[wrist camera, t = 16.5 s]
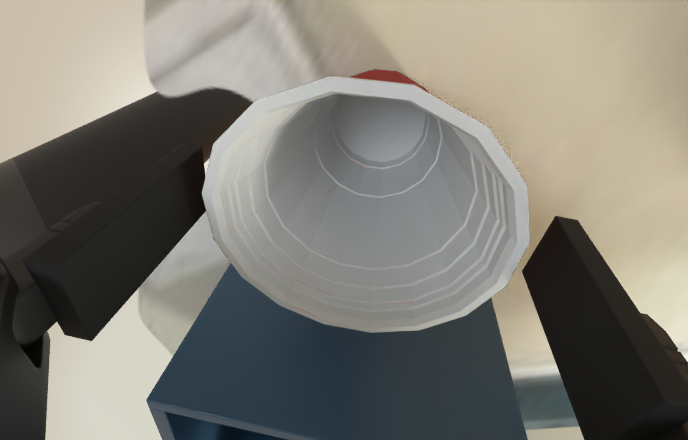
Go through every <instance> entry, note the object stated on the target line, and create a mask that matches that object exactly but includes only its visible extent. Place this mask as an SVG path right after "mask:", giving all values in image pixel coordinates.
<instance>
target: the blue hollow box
mask: <svg viewBox="0 0 688 440" xmlns="http://www.w3.org/2000/svg"><path fill="white" fill-rule="evenodd" d="M147 403H148V406H149V408H150V411H151V413H152V416H153V418H154V421H155V423H156V425H157V428H158V430H159V433H160V435H161V437H162V440H528V439H527V435H526V431H525V427H524V423H523V420H522V416H521V412H520V408H519V404H518V400H517V396H516V392H515V389H514V385H513V381H512V377H511V373H510V369H509V365H508V361H507V358H506V354H505V350H504V346H503V342H502V338H501V334H500V330H499V327H498V323H497V319H496V315H495V311H494V307H493V303H492V299H491V298H489V299H488V300H487V301H485V302H484V303H482V304H481V305H480V306H478V307H477V308H476V309H474V310H473V311H472V312H470V313H469V314H467V315H466V316H463V317H460V318H457V319H454V320H450V321H447V322H444V323H441V324H438V325H435V326H431V327H428V328H425V329H422V330H416V331H395V332H374V333H370V332H365V331H359V330H353V329H348V328H342V327H337V326H331V325H326V324H322V323H320V322H317V321H315V320H313V319H310V318H308V317H306V316H303V315H301V314H299V313H296V312H294V311H291V310H289V309H287V308H284V307H282V306H280V305H278V304H277V303H276V302H274V301H273V300H272V299H270V298H269V297H268V296H266V295H265V294H264V293H262V292H261V291H260V290H258V289H257V288H256V287H254V286H253V285H252V284H250V283H249V282H248V281H246V280H245V279H244V278H242V277H241V275H240V274H239V273H238V271H237V270H236V269H235V267H234V266H233V265H232V263H231V264H230V265H229V267H228V269H227V270H226V272H225V273H224V275H223V277H222V278H221V280H220V282H219V283H218V285H217V286H216V288H215V290H214V291H213V293H212V295H211V296H210V298H209V299H208V301H207V303H206V304H205V306H204V307H203V309H202V311H201V312H200V314H199V316H198V317H197V319H196V320H195V322H194V324H193V325H192V327H191V329H190V330H189V332H188V333H187V335H186V337H185V338H184V340H183V341H182V343H181V345H180V346H179V348H178V350H177V351H176V353H175V354H174V356H173V358H172V359H171V361H170V363H169V364H168V366H167V368H166V369H165V371H164V372H163V374H162V375H161V377H160V379H159V381H158V382H157V384H156V385H155V387H154V389H153V390H152V392H151V393H150V395H149V397H148V398H147Z"/></svg>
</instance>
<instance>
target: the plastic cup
mask: <svg viewBox="0 0 688 440" xmlns="http://www.w3.org/2000/svg"><path fill="white" fill-rule="evenodd" d="M202 197H203V200H204V204H205V208H206V212H207V216H208V219H209V223H210V227H211V231H212V234H213V238H214V240H215V242H216V243H217V244H218V246H219V247H220V248H221V250H222V251H223V252H224V254H225V255H226V257H227V258H228V259H229V261H230V262H231V263H232V265H233V266H234V267H235V269H236V270H237V271H238V273H239V274H240V275H241V277H242V278H244V279H245V280H246V281H248V282H249V283H250V284H252V285H253V286H254V287H256V288H257V289H258V290H260V291H261V292H262V293H264V294H265V295H266V296H268V297H269V298H270V299H272V300H273V301H274V302H276V303H277V304H278V305H280V306H282V307H284V308H287V309H289V310H291V311H294V312H296V313H299V314H301V315H303V316H306V317H308V318H310V319H313V320H315V321H317V322H320V323H322V324H326V325H331V326H337V327H342V328H348V329H353V330H359V331H365V332H370V333H374V332H395V331H416V330H422V329H425V328H428V327H431V326H435V325H438V324H441V323H444V322H447V321H450V320H454V319H457V318H460V317H463V316H466V315H467V314H469V313H470V312H472V311H473V310H474V309H476V308H477V307H478V306H480V305H481V304H482V303H484V302H485V301H487V300H488V299H489V298H491V297H492V296H493V295H495V294H496V293H497V292H499V291H500V290H502V289H503V288H504V287H506V285H507V283H508V281H509V280H510V278H511V276H512V274H513V272H514V270H515V269H516V267H517V265H518V263H519V261H520V259H521V258H522V256H523V254H524V252H525V250H526V249H527V247H528V245H529V243H530V231H529V208H528V186H527V184H526V183H525V181H524V180H523V178H522V177H521V175H520V174H519V172H518V171H517V169H516V168H515V166H514V165H513V163H512V162H511V160H510V159H509V157H508V156H507V154H506V153H505V151H504V150H503V148H502V147H501V145H500V144H499V142H498V141H497V139H496V138H495V136H494V135H493V133H492V132H491V130H490V129H489V127H487V126H485V125H484V124H482V123H481V122H479V121H477V120H475V119H474V118H472V117H470V116H468V115H467V114H465V113H463V112H461V111H460V110H458V109H456V108H454V107H453V106H451V105H449V104H447V103H446V102H444V101H442V100H440V99H439V98H437V97H435V96H433V95H432V94H430V93H429V92H428V91H427V90H426V89H425V88H424V87H422V86H420V85H418V84H417V83H416V82H414V81H413V80H411V79H409V78H407V77H406V76H404V75H402V74H400V73H399V72H396V71H386V70H376V69H375V70H372V71H367V72H364V73H361V74H358V75H355V76H352V77H341V76H329V77H326V78H323V79H319V80H316V81H313V82H310V83H307V84H304V85H301V86H298V87H295V88H292V89H288V90H285V91H282V92H279V93H276V94H273V95H270V96H267V97H264V98H261V99H258V100H255V101H254V102H253V104H252V105H251V106H250V107H249V108H248V109H247V110H246V111H245V112H244V113H243V114H242V115H241V116H240V117H239V118H238V119H237V120H236V121H235V122H234V123H233V124H232V125H231V126H230V127H229V128H228V129H227V130H226V131H225V132H224V133H223V134H222V135H221V137H220V138H219V139H218V140H217V141H216V142H215V143H214V144H213V147H212V152H211V156H210V160H209V165H208V169H207V173H206V177H205V182H204V186H203V190H202Z"/></svg>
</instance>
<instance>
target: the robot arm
mask: <svg viewBox="0 0 688 440" xmlns="http://www.w3.org/2000/svg"><path fill="white" fill-rule="evenodd" d="M204 182H205V169H204V161H203V153H202V147H200V146H194V145H189V144H184V143H182V144H180V145H179V146H178V147H176V148H175V149H174V150H172V151H171V152H169V153H168V154H167V155H165V156H164V157H163V158H161V159H160V160H158V161H157V162H156V163H154V164H153V165H152V166H150V167H149V168H147V169H146V170H145V171H143V172H142V173H141V174H139V175H138V176H137V177H135V178H134V179H132V180H131V181H130V182H128V183H127V184H126V185H124V186H123V187H121V188H120V189H119V190H117V191H116V192H115V193H113V194H112V195H110V196H109V197H108V198H106V199H105V200H104V201H102V202H97V201H95V202H93V203H90V204H88V205H85V206H83V207H80V208H78V209H76V210H74V211H73V212H72V213H70V214H69V215H67V216H66V217H64V218H63V219H62V221H61V222H57V223H56V224H54V225H53V226H51V227H50V228H49V230H46V231H44V232H43V233H41V234H40V235H39V236H37V237H36V238H34V239H33V240H31V241H30V242H28V243H27V244H26V245H24V246H23V247H21V248H20V249H18V250H17V251H16V252H14V253H13V254H11V255H10V256H8V257H7V258H5V259H4V260H2V258H1V256H0V440H45V432H46V412H47V411H46V410H47V393H48V373H49V354H50V338H49V334H48V332H47V330H48V329H49V328H50V327H51V326H52V325H54V323H56V322H58V324H59V325H60V327H61V329H62V330H63V332H64V334H65V335H68V336H72V337H76V338H81V339H85V340H90V341H92V340H93V339H94V338H95V337H96V336H97V334H98V333H99V332H100V331H101V330H102V329H103V328H104V326H105V325H106V324H107V323H108V322H109V321H110V320H111V318H112V317H113V316H114V315H115V314H116V313H117V312H118V310H119V309H120V308H121V307H122V306H123V305H124V304H125V303H126V301H127V300H128V299H129V298H130V297H131V295H133V293H134V292H135V291H136V290H137V289H138V288H139V287H140V285H141V284H142V283H143V282H144V281H145V280H146V279H147V277H148V276H149V275H150V274H151V273H152V272H153V271H154V269H155V268H156V267H157V266H158V265H159V264H160V263H161V261H162V260H163V259H164V258H165V257H166V256H167V255H168V253H169V252H170V251H171V250H172V249H173V248H174V247H175V246H176V244H177V243H178V242H179V241H180V240H181V239H182V238H183V236H184V235H185V234H186V233H187V232H188V231H189V230H190V228H191V227H192V226H193V225H194V224H195V223H196V222H197V220H198V219H199V218H200V217H201V216H202V215H203V214H204V212H205V211H206V208H205V204H204V200H203V197H202V190H203V186H204ZM522 272H523V275H524V278H525V281H526V283H527V286H528V289H529V291H530V294H531V297H532V299H533V302H534V305H535V307H536V310H537V313H538V316H539V318H540V321H541V324H542V326H543V329H544V332H545V334H546V337H547V340H548V343H549V345H550V348H551V351H552V353H553V356H554V359H555V361H556V364H557V367H558V370H559V372H560V375H561V378H562V380H563V383H564V386H565V388H566V391H567V394H568V397H569V399H570V402H571V405H572V407H573V410H574V413H575V415H576V418H577V421H578V424H579V426H580V429H581V432H582V434H583V437H584V440H688V362H687V361H686V359H685V358H684V357H683V355H682V354H681V352H678V351H677V349H678V348H677V347H676V345H675V344H674V343H673V341H672V340H671V338H670V337H669V335H668V334H667V333H666V331H665V330H664V329H663V328H661V327H660V326H659V325H658V324H657V323H656V322H655V321H654V320H653V319H652V318H650V317H649V316H648V315H647V314H642V313H640V312H639V311H638V309H637V308H636V306H635V305H634V303H633V302H632V300H631V299H630V297H629V296H628V294H627V293H626V291H625V290H624V289H623V287H622V286H621V284H620V283H619V281H618V280H617V278H616V277H615V275H614V274H613V272H612V271H611V269H610V268H609V266H608V265H607V263H606V262H605V260H604V259H603V257H602V256H601V254H600V253H599V251H598V250H597V248H596V247H595V245H594V244H593V242H592V241H591V240H590V238H589V237H588V235H587V234H586V232H585V231H584V229H583V228H582V226H581V225H580V223H579V222H578V220H574V219H568V218H563V217H558V216H555V218H554V219H553V221H552V223H551V224H550V226H549V228H548V229H547V231H546V233H545V234H544V236H543V238H542V239H541V241H540V242H539V244H538V246H537V247H536V249H535V251H534V252H533V254H532V256H531V257H530V259H529V261H528V262H527V264H526V266H525V267H524V269H523V270H522Z"/></svg>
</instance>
